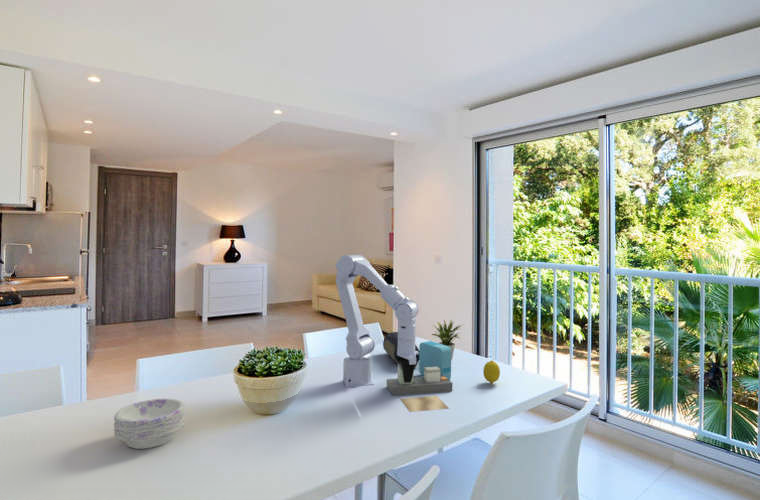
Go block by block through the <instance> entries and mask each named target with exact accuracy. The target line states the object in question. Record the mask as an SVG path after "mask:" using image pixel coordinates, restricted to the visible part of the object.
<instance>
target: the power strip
mask: <svg viewBox="0 0 760 500" xmlns="http://www.w3.org/2000/svg"><path fill="white" fill-rule="evenodd" d="M386 388H387V390H388V391H389V393H390V394H391V395H392V396H393V397H395V396H407V395H420V394H433V393H444V392H446V393H447V392H453V382H452V381H451V379H450V380H448V379H447V378H446V377H445V376H444V375H440V382H430V383H426V382H425V381H424V376H416V377H415V376H414V377H413V384H403V385H399V383H398V377H397V378H387V379H386Z"/></svg>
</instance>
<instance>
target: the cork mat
mask: <svg viewBox="0 0 760 500" xmlns="http://www.w3.org/2000/svg"><path fill="white" fill-rule="evenodd" d="M400 402H402V403H403V406H405V408H406V409H407V411H409V412H410V413H413V412H424V411H435V410H437V411H438V410H448V409H450V408H449V406H447V405H446V404H445V402H443V400H442V399H441V398H440V397H439V396H437V395H431V396H418V397H408V398H407V397H406V398H400Z"/></svg>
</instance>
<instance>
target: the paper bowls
mask: <svg viewBox="0 0 760 500" xmlns="http://www.w3.org/2000/svg"><path fill="white" fill-rule="evenodd" d="M185 408H186V406H185V403H184V402H183V401H181V400H178V399H176V398H175V399H174V398H156V399H147V400H142V401H139V402H135V403H132V404H129V405H127V406H124V407H122V408H120V409H119V410H117V411H116V413H115V414H114V416H113V417H114V424H113V425H114V426H113V427H114V428H113V431H114V432H113V433H114V438H116V439H118V440H119V441H122V442H124V443H125V444H126V445H127V446H128V447H129V448H132V449H137V450H142V449H143V450H144V449H145V448H146V449H152V448H157V447H159V446H161V445H164V444H166V443H168V442H169V441H171V440H172V439H173V438H174V436H175V435H176V432H178V431H180V430H181V429H182V428H183V427H184V426H185V422H186V421H185V419H186V418H185V417H186V414H185V413H186V412H185ZM146 449H145V450H146Z"/></svg>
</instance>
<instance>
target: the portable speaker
mask: <svg viewBox="0 0 760 500" xmlns="http://www.w3.org/2000/svg"><path fill="white" fill-rule="evenodd" d="M382 341H383V342H382V347H383V350H384V351H385V353H387V355H389V356H390V357H391V359H393V360H394V362H396V363H397V364H398V362H397V360H396V358H395V357H396V356H398V355H397V348H398V331H392V332H389V333H387V334H386V335H385V337H384V339H383V340H382ZM415 351H418V352H419V346H417V344H415ZM415 358H416V361H417V362H418V363H419V354H417V355H416V357H415Z"/></svg>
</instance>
